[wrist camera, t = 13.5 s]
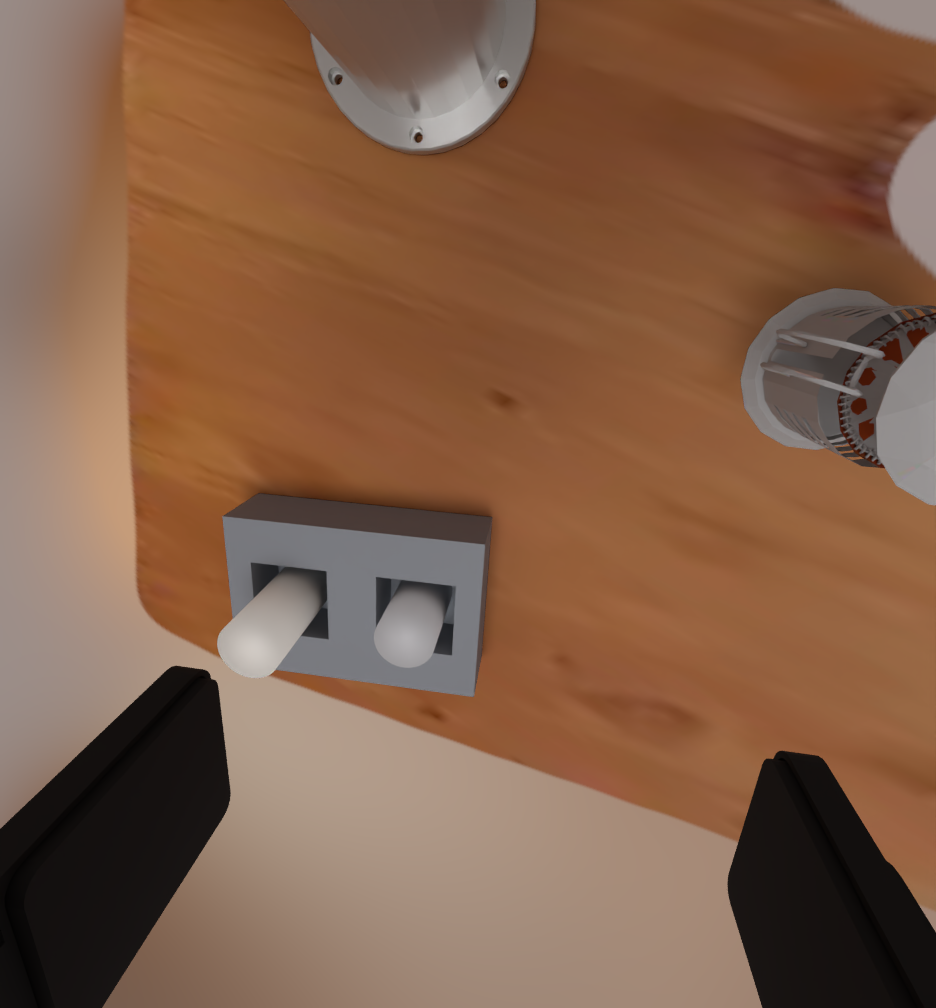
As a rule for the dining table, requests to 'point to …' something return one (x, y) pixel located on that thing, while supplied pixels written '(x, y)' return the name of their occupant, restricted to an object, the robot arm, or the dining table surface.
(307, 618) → the peg
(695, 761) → the dining table surface
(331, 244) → the dining table surface
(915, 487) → the french press
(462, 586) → the socket block
